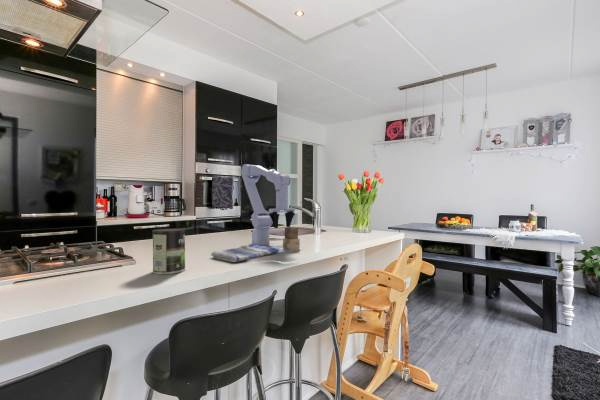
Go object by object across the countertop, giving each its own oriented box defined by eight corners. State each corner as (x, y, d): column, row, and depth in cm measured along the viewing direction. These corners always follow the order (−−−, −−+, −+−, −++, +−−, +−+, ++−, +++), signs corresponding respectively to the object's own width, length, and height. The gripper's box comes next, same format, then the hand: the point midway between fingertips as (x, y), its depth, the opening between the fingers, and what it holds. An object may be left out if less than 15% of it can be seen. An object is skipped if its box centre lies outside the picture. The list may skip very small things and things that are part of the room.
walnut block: (284, 238, 142) (284, 227, 142) (291, 237, 145) (291, 227, 145) (290, 239, 139) (290, 228, 139) (297, 238, 142) (297, 227, 142)
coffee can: (188, 266, 109) (188, 227, 109) (181, 274, 99) (181, 230, 99) (157, 268, 108) (157, 228, 108) (148, 275, 97) (147, 231, 97)
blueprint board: (255, 250, 143) (255, 248, 143) (281, 246, 154) (281, 244, 154) (275, 255, 131) (275, 253, 131) (303, 250, 142) (303, 248, 142)
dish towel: (209, 257, 126) (209, 251, 126) (254, 248, 143) (254, 242, 143) (234, 263, 114) (233, 256, 114) (279, 253, 131) (279, 246, 131)
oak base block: (282, 248, 142) (282, 238, 142) (291, 247, 146) (291, 237, 146) (290, 250, 138) (290, 239, 138) (299, 249, 142) (299, 238, 142)
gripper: (275, 199, 139) (275, 229, 139) (298, 199, 149) (298, 227, 149) (266, 199, 145) (266, 228, 145) (289, 199, 154) (289, 226, 154)
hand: (282, 227), depth 147 cm, fingers open, 7 cm apart
